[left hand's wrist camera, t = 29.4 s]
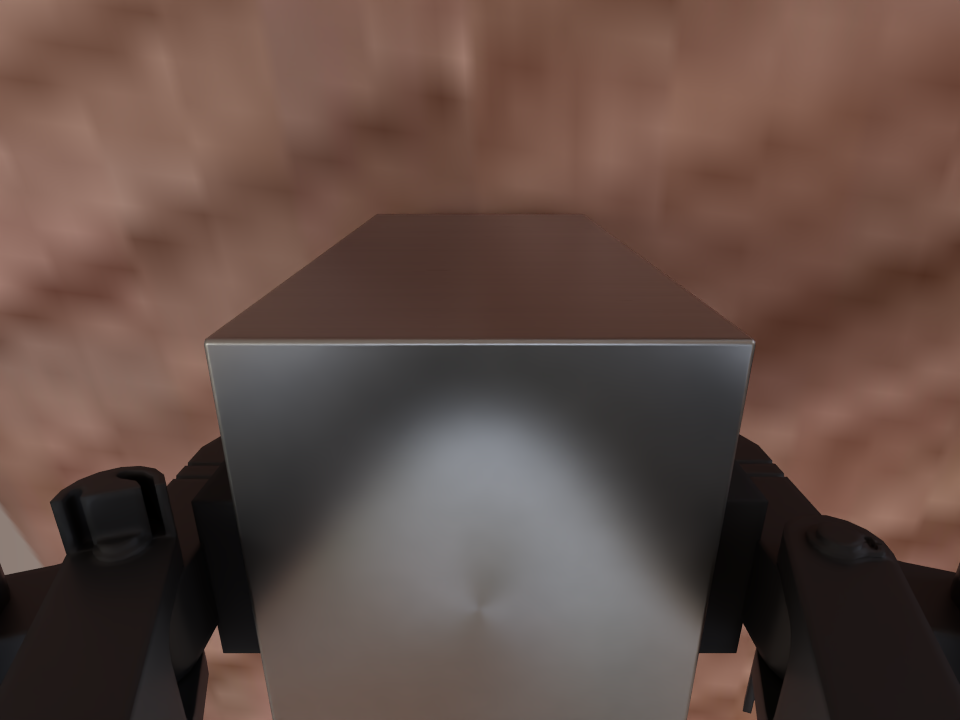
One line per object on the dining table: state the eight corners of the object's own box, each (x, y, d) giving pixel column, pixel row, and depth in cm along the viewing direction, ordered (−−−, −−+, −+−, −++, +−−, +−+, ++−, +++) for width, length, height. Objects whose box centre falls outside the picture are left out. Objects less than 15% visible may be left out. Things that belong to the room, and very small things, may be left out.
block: (584, 213, 17) (758, 340, 6) (569, 442, 20) (674, 797, 9) (375, 214, 17) (199, 339, 6) (390, 442, 20) (284, 796, 9)
